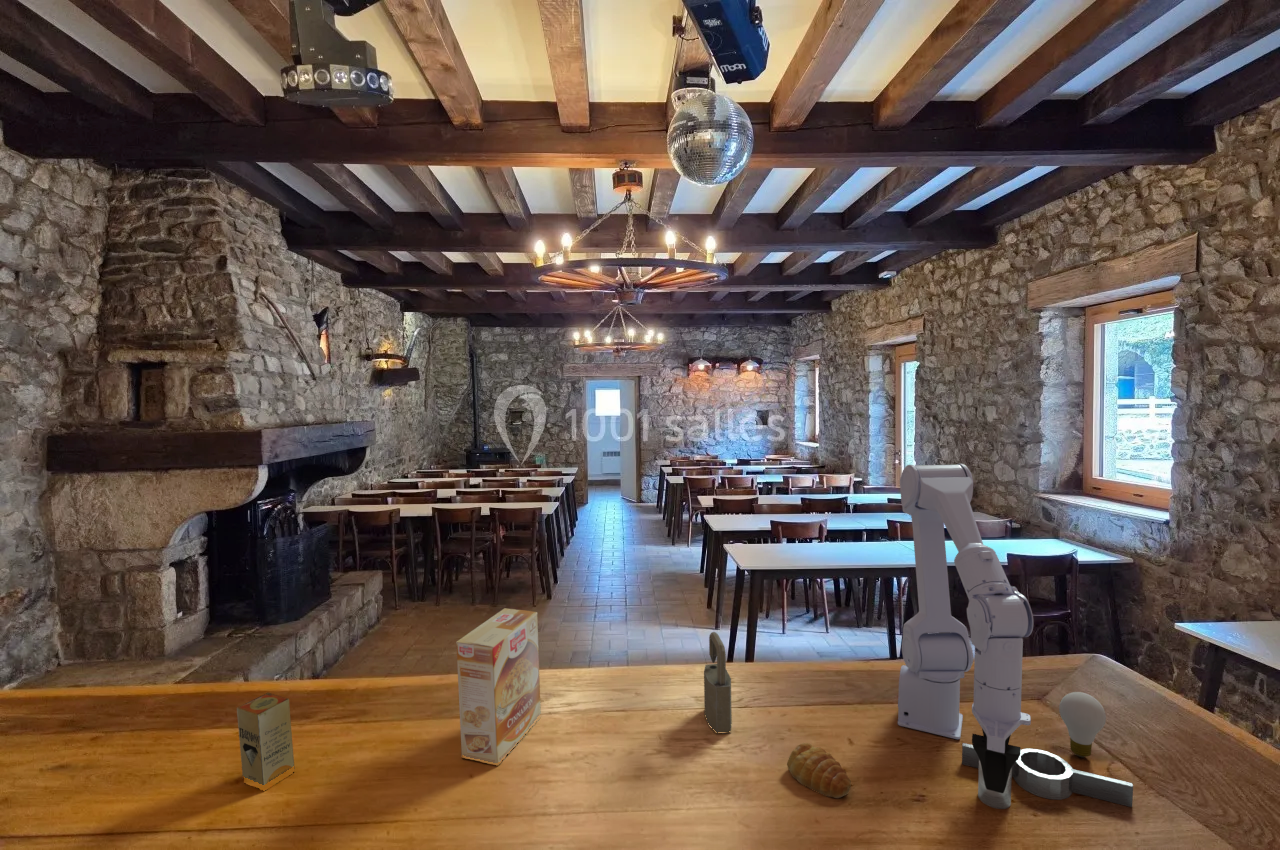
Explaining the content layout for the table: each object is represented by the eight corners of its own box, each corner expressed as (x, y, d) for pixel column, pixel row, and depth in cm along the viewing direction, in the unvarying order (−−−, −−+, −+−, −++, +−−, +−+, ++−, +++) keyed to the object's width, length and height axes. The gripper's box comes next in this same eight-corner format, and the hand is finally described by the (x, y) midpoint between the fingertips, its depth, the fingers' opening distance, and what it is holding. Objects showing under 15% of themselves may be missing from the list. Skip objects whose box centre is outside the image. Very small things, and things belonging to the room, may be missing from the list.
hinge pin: (977, 803, 89) (978, 755, 89) (978, 786, 93) (979, 740, 92) (1010, 812, 87) (1012, 763, 87) (1010, 795, 91) (1012, 748, 90)
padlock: (723, 707, 116) (722, 626, 114) (735, 732, 108) (734, 646, 106) (701, 709, 115) (700, 628, 114) (712, 734, 107) (710, 648, 106)
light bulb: (1111, 770, 96) (1114, 705, 95) (1067, 766, 97) (1070, 702, 96) (1092, 747, 101) (1095, 686, 101) (1051, 743, 103) (1053, 683, 102)
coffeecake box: (498, 767, 100) (493, 646, 98) (459, 759, 102) (453, 641, 101) (543, 717, 114) (539, 610, 112) (508, 711, 116) (503, 606, 115)
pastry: (862, 790, 93) (862, 765, 93) (830, 808, 89) (830, 782, 89) (812, 757, 101) (812, 734, 101) (781, 773, 97) (781, 749, 97)
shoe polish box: (274, 764, 102) (268, 692, 101) (294, 772, 100) (288, 698, 99) (243, 783, 98) (236, 707, 97) (264, 791, 96) (257, 714, 94)
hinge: (960, 775, 95) (961, 756, 95) (963, 750, 101) (963, 732, 101) (1136, 821, 85) (1137, 800, 85) (1127, 790, 91) (1128, 770, 91)
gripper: (1033, 712, 80) (1030, 814, 81) (1029, 664, 93) (1027, 754, 94) (970, 699, 84) (967, 797, 85) (974, 654, 96) (972, 741, 97)
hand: (995, 773), depth 90 cm, fingers open, 7 cm apart
